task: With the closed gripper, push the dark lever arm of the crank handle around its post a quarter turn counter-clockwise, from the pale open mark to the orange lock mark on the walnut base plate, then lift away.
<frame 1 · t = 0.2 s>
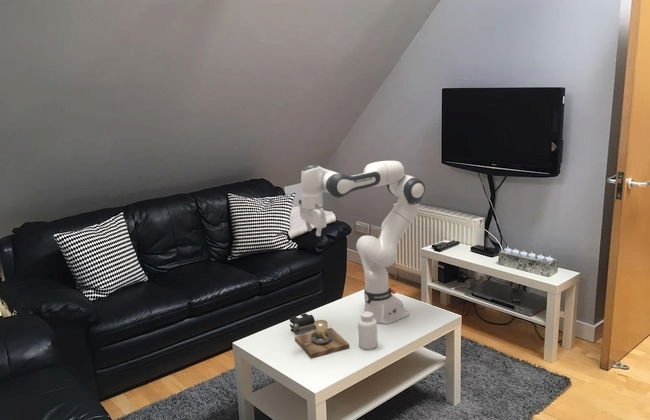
hand: (313, 233, 247), 47 cm above the table, fingers open, 8 cm apart
base plate: (321, 344, 247), on the table
post collar: (321, 338, 246), on the base plate, point 2 cm above the table
crank handle: (310, 329, 243), point 8 cm above the table, hinge at 0.0°
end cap: (302, 330, 261), on the table
pill bottle: (367, 346, 244), on the table
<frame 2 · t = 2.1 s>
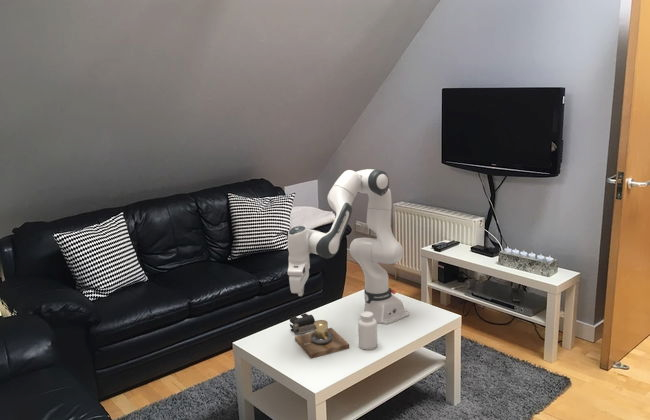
hand: (301, 294, 243), 23 cm above the table, fingers closed
nothing on the table moved.
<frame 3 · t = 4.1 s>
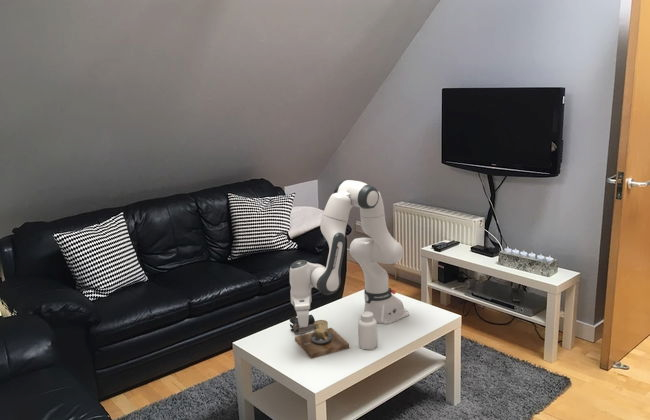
hand: (302, 327, 244), 9 cm above the table, fingers closed
crank handle: (310, 329, 243), point 8 cm above the table, hinge at 0.0°, touching gripper
everything else where it was.
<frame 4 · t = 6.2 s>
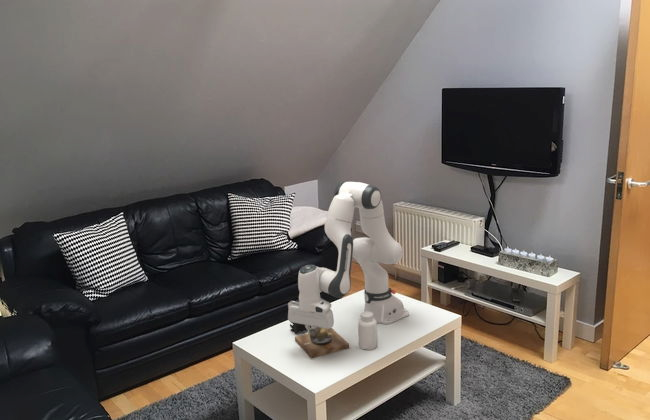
hand: (311, 334, 238), 9 cm above the table, fingers closed
crank handle: (317, 332, 240), point 8 cm above the table, hinge at 49.2°, touching gripper
everything else where it was.
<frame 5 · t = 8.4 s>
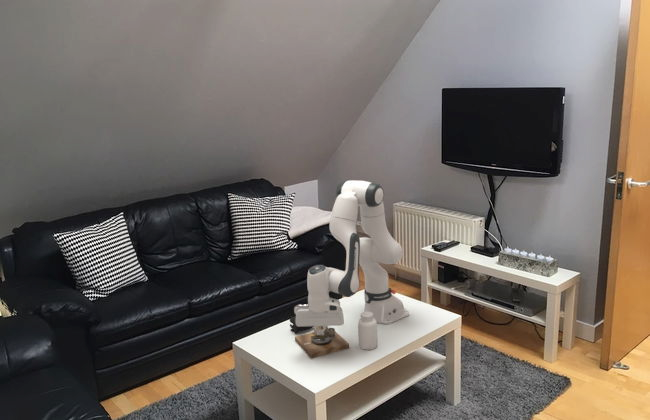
hand: (320, 334, 237), 9 cm above the table, fingers closed
crank handle: (325, 331, 241), point 8 cm above the table, hinge at 89.8°
everything else where it was.
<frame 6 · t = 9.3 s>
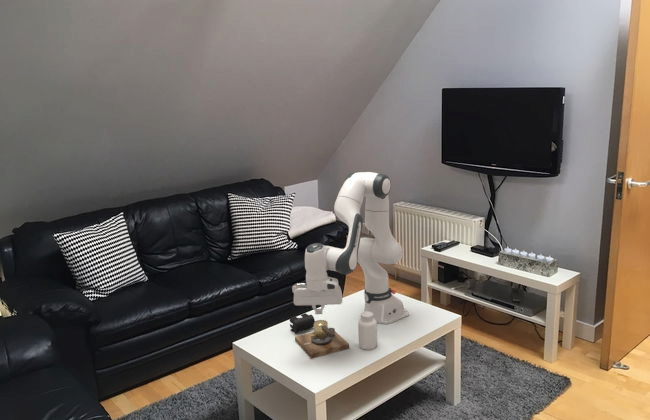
hand: (318, 313, 235), 18 cm above the table, fingers closed
nothing on the table moved.
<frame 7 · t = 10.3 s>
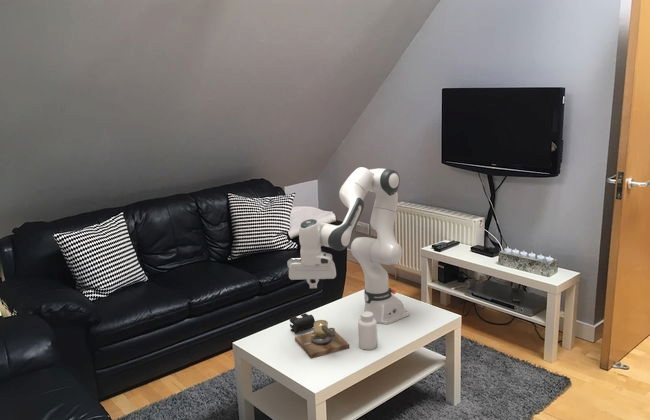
hand: (313, 287, 243), 26 cm above the table, fingers closed
nothing on the table moved.
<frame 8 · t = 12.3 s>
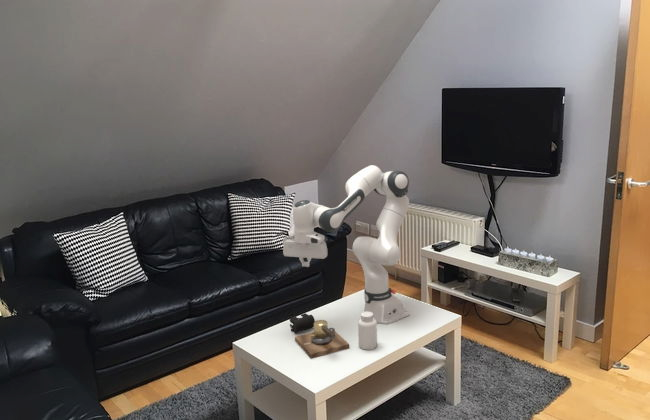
hand: (305, 266, 254), 31 cm above the table, fingers closed
nothing on the table moved.
at the end: crank handle at +90° (first picture: +0°); the gripper is holding nothing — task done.
